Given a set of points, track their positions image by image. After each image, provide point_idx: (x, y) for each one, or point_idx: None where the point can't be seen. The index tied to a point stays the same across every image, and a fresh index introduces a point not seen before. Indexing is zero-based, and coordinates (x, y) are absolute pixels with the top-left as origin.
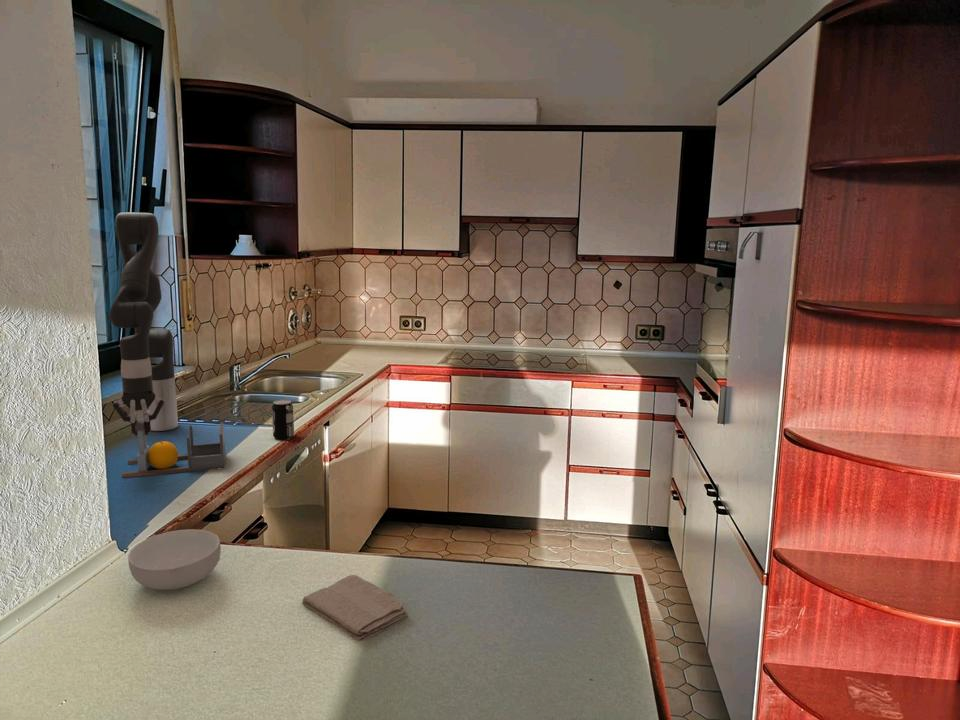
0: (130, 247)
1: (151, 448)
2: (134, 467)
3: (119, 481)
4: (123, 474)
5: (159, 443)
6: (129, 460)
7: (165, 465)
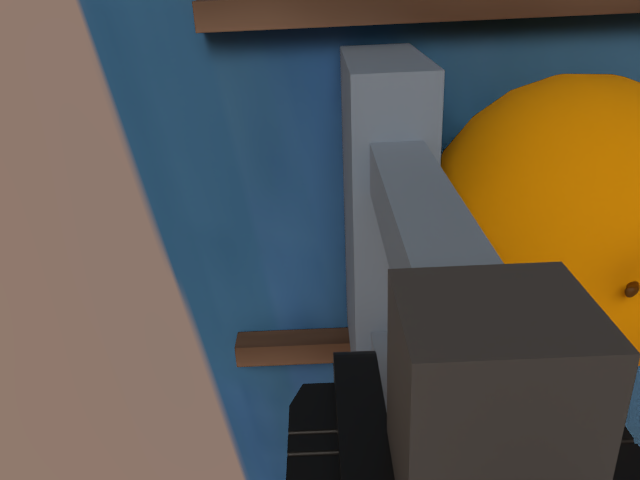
0: None
1: None
2: (283, 142)
3: (242, 411)
4: (249, 362)
5: (603, 289)
6: (212, 30)
7: None
